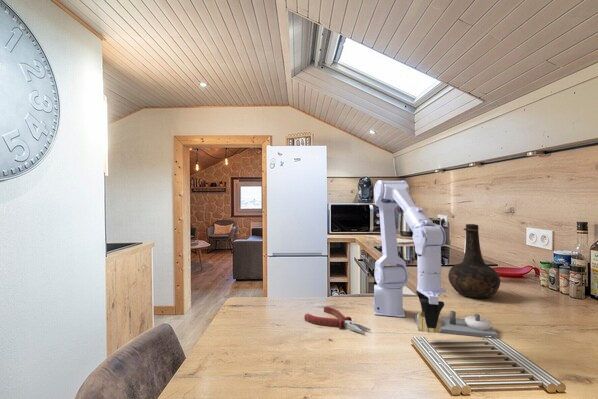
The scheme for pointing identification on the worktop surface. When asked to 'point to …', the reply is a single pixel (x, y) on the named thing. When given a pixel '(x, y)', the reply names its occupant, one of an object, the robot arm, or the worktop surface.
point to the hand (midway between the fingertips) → (429, 323)
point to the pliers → (336, 321)
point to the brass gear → (423, 325)
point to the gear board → (465, 325)
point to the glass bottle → (473, 270)
